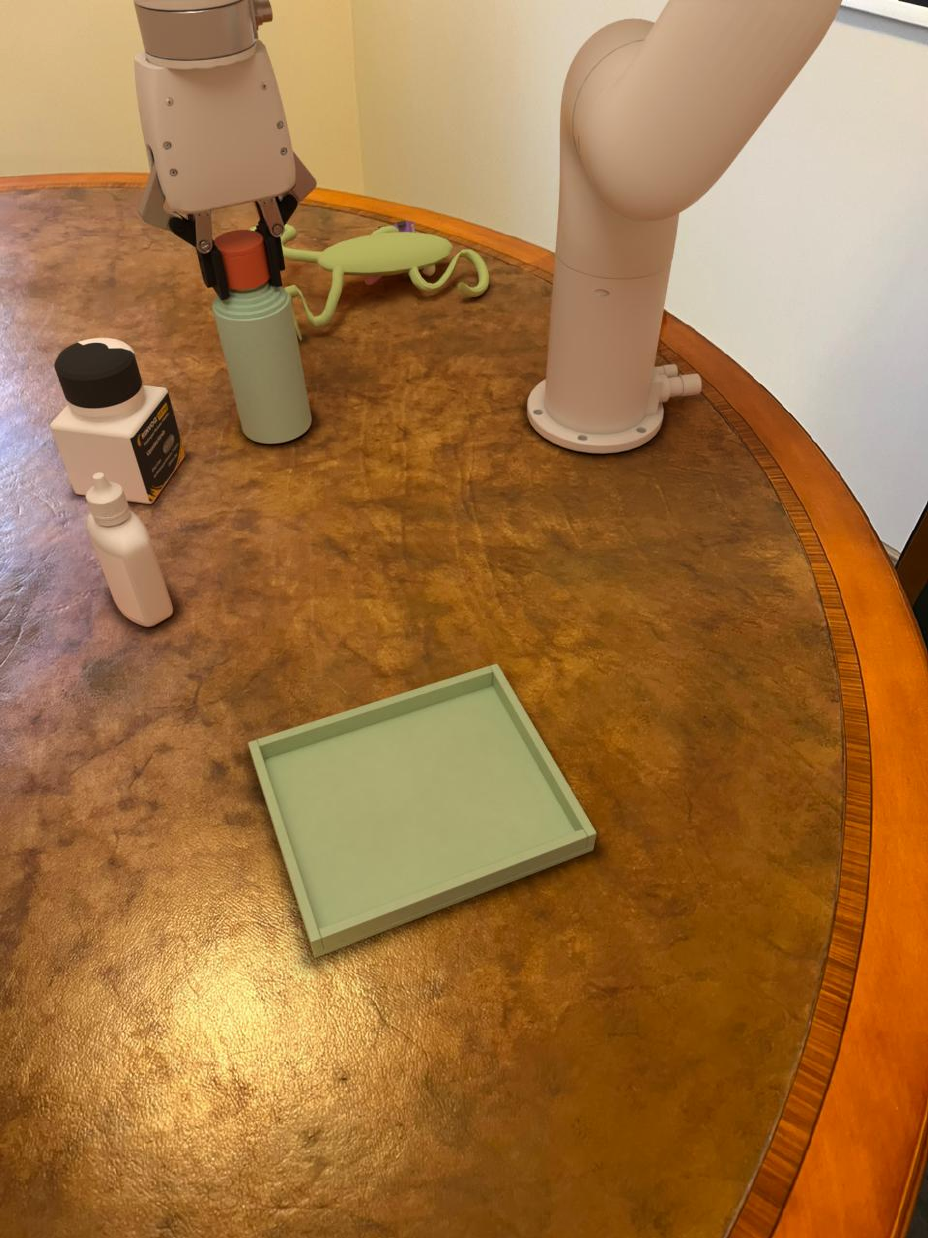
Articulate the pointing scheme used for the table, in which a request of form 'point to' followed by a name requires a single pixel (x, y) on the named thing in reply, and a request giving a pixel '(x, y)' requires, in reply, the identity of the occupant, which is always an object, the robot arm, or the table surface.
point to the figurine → (381, 262)
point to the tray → (414, 805)
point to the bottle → (264, 363)
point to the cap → (243, 259)
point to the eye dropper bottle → (126, 555)
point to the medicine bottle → (114, 421)
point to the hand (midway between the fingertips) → (246, 284)
